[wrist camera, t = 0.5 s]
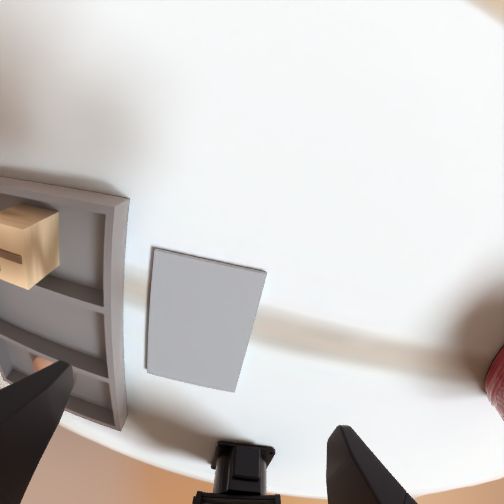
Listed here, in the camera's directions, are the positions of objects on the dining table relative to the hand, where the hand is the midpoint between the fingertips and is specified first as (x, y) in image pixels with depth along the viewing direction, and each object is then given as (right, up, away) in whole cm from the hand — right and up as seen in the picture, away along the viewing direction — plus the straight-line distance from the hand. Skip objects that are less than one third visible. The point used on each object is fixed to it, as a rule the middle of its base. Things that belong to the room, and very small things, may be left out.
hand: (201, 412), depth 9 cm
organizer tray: (-17, 0, +15) cm, 23 cm away
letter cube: (-16, +6, +12) cm, 21 cm away
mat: (-3, -1, +15) cm, 15 cm away
